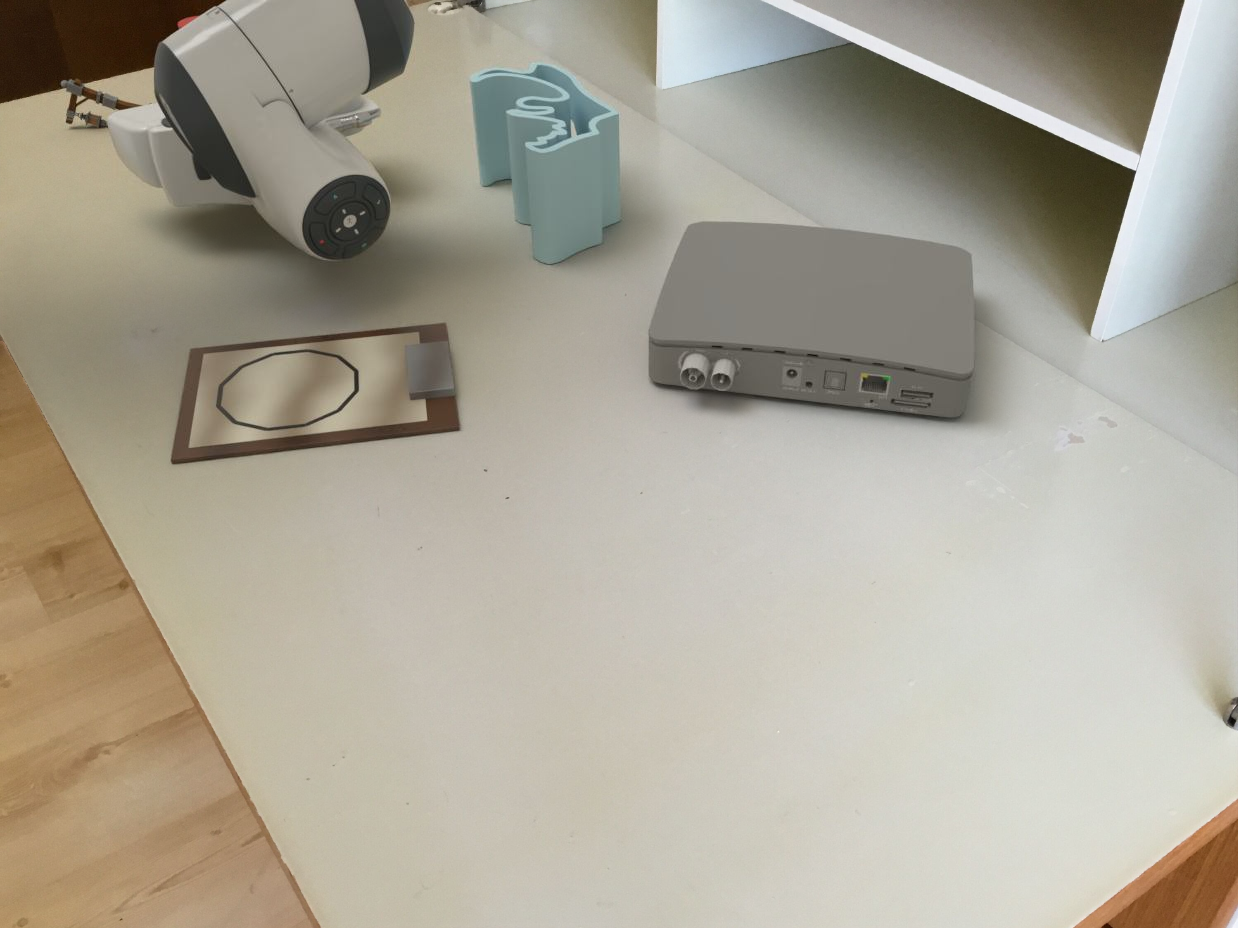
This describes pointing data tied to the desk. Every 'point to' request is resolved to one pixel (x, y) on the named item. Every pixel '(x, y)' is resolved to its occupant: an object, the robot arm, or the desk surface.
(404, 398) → the clipboard
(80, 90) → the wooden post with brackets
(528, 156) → the squiggly pen holder
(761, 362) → the electronic device
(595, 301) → the desk surface
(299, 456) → the desk surface
